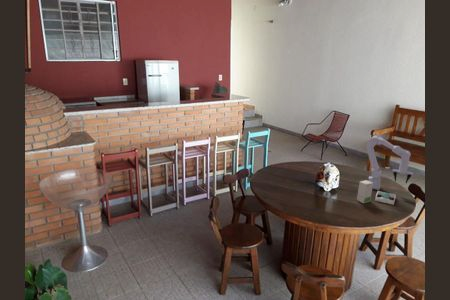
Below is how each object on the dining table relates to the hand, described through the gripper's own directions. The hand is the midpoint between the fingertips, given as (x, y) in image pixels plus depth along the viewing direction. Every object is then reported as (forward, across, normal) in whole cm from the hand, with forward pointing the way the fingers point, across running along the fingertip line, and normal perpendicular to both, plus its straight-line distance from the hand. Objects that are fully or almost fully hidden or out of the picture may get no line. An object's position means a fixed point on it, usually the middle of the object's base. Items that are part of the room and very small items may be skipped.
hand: (400, 182), depth 250 cm
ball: (+9, -8, -18) cm, 22 cm away
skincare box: (+10, -22, -30) cm, 39 cm away
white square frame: (+10, -8, -18) cm, 22 cm away
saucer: (+10, -8, -18) cm, 22 cm away
